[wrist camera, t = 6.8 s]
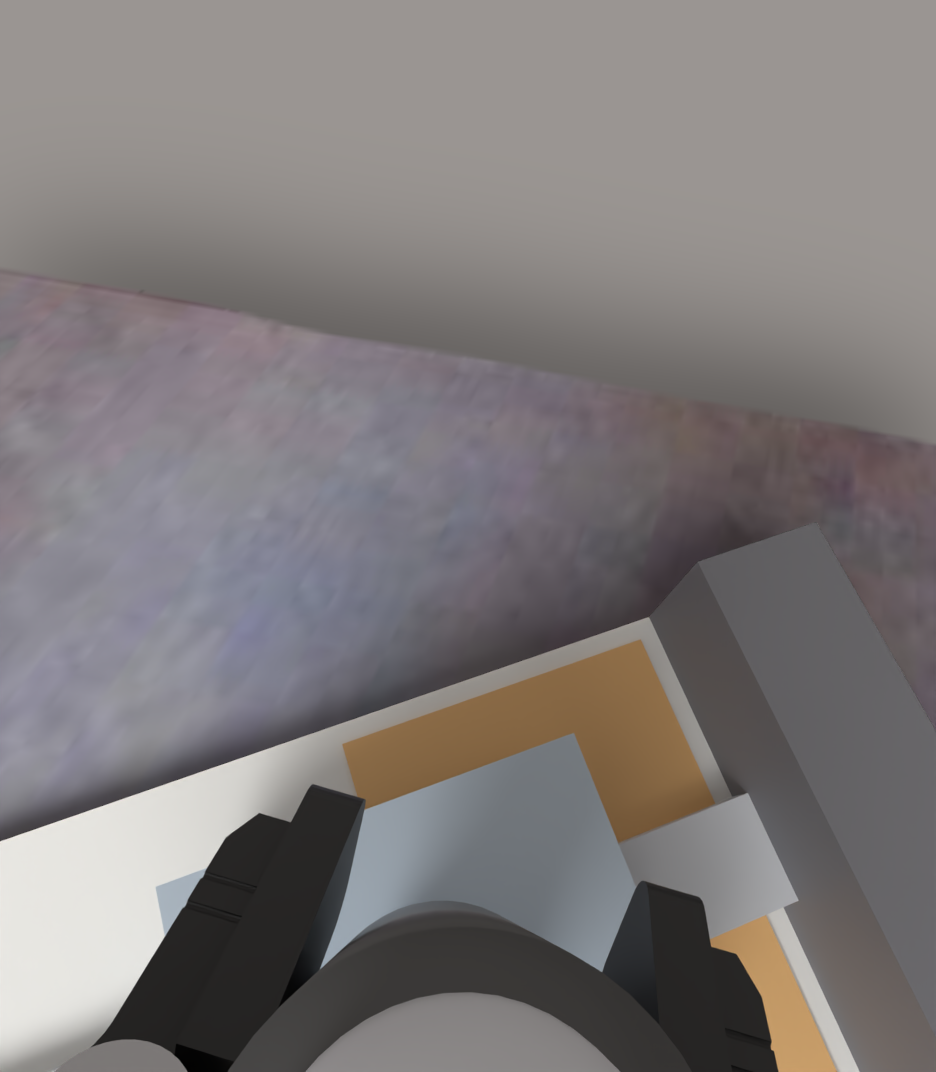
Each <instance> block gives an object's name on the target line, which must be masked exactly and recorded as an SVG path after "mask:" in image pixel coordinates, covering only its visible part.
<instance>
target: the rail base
mask: <svg viewBox="0 0 936 1072" xmlns="http://www.w3.org/2000/svg"><path fill="white" fill-rule="evenodd" d="M572 733H574V735H575V737H576V740H577V742H578V745H579V747H580V750H581V752H582V754H583V757H584V759H585V762H586V764H587V767H588V769H589V772H590V774H591V777H592V779H593V782H594V784H595V787H596V789H597V792H598V794H599V797H600V799H601V802H602V804H603V807H604V809H605V812H606V814H607V817H608V819H609V822H610V824H611V826H612V829H613V831H614V834H615V836H616V839H617V841H618V844H619V846H620V849H621V851H622V854H623V856H624V859H625V861H626V864H627V866H628V869H629V871H630V874H631V876H632V879H633V881H634V884H635V886H636V887H637V885H638V884H639V883H640V882H641V881H646V882H650V883H653V884H657V885H660V886H663V887H667V888H670V889H674V890H677V891H681V892H684V893H687V894H691V895H694V896H698V897H700V898H701V900H702V901H703V904H704V908H705V913H706V919H707V925H708V931H709V937H710V943H711V947H714V948H718V949H721V950H725V951H728V952H731V953H735V954H737V955H738V957H739V959H740V961H741V962H742V964H743V966H744V967H745V969H746V971H747V972H748V974H749V976H750V978H751V979H752V981H753V983H754V984H755V986H756V988H757V989H758V991H759V993H760V995H761V996H762V1000H763V1004H764V1009H765V1013H766V1018H767V1022H768V1027H769V1031H770V1036H771V1040H772V1043H771V1050H773V1051H774V1054H775V1058H776V1062H777V1067H778V1071H779V1072H936V730H935V728H934V726H933V725H932V723H931V721H930V719H929V718H928V716H927V714H926V713H925V711H924V709H923V707H922V706H921V704H920V702H919V700H918V699H917V697H916V695H915V693H914V692H913V690H912V688H911V686H910V685H909V683H908V681H907V679H906V678H905V676H904V674H903V672H902V671H901V669H900V667H899V665H898V664H897V662H896V660H895V658H894V657H893V655H892V653H891V651H890V650H889V648H888V646H887V645H886V643H885V641H884V639H883V638H882V636H881V634H880V632H879V631H878V629H877V627H876V625H875V624H874V622H873V620H872V618H871V617H870V615H869V613H868V611H867V610H866V608H865V606H864V604H863V603H862V601H861V599H860V597H859V596H858V594H857V592H856V590H855V589H854V587H853V585H852V583H851V582H850V580H849V578H848V576H847V575H846V573H845V571H844V570H843V568H842V566H841V564H840V563H839V561H838V559H837V557H836V556H835V554H834V552H833V550H832V549H831V547H830V545H829V543H828V542H827V540H826V538H825V536H824V535H823V533H822V531H821V529H820V528H819V526H818V524H817V522H814V523H811V524H808V525H805V526H802V527H799V528H796V529H793V530H790V531H787V532H784V533H781V534H779V535H776V536H773V537H770V538H767V539H764V540H761V541H758V542H755V543H752V544H749V545H746V546H743V547H740V548H737V549H734V550H731V551H728V552H725V553H722V554H719V555H716V556H713V557H710V558H707V559H704V560H701V561H698V562H697V563H696V564H695V565H694V566H693V567H692V569H691V570H690V571H689V572H688V573H687V574H686V575H685V576H684V578H683V579H682V580H681V581H680V582H679V583H678V584H677V586H676V587H675V588H674V589H673V590H672V591H671V592H670V594H669V595H668V596H667V597H666V598H665V599H664V600H663V602H662V603H661V604H660V605H659V606H658V607H657V608H656V609H655V611H654V612H653V613H652V614H651V615H650V616H649V617H647V618H644V619H642V620H639V621H636V622H633V623H630V624H627V625H624V626H621V627H618V628H616V629H613V630H610V631H607V632H604V633H601V634H598V635H595V636H592V637H590V638H587V639H584V640H581V641H578V642H575V643H572V644H569V645H566V646H564V647H561V648H558V649H555V650H552V651H549V652H546V653H543V654H540V655H538V656H535V657H532V658H529V659H526V660H523V661H520V662H517V663H514V664H511V665H509V666H506V667H503V668H500V669H497V670H494V671H491V672H488V673H485V674H483V675H480V676H477V677H474V678H471V679H468V680H465V681H462V682H459V683H457V684H454V685H451V686H448V687H445V688H442V689H439V690H436V691H433V692H431V693H428V694H425V695H422V696H419V697H416V698H413V699H410V700H407V701H405V702H402V703H399V704H396V705H393V706H390V707H387V708H384V709H381V710H379V711H376V712H373V713H370V714H367V715H364V716H361V717H358V718H355V719H353V720H350V721H347V722H344V723H341V724H338V725H335V726H332V727H329V728H327V729H324V730H321V731H318V732H315V733H312V734H309V735H306V736H303V737H300V738H298V739H295V740H292V741H289V742H286V743H283V744H280V745H277V746H274V747H272V748H269V749H266V750H263V751H260V752H257V753H254V754H251V755H248V756H246V757H243V758H240V759H237V760H234V761H231V762H228V763H225V764H222V765H220V766H217V767H214V768H211V769H208V770H205V771H202V772H199V773H196V774H194V775H191V776H188V777H185V778H182V779H179V780H176V781H173V782H170V783H168V784H165V785H162V786H159V787H156V788H153V789H150V790H147V791H144V792H142V793H139V794H136V795H133V796H130V797H127V798H124V799H121V800H118V801H116V802H113V803H110V804H107V805H104V806H101V807H98V808H95V809H92V810H89V811H87V812H84V813H81V814H78V815H75V816H72V817H69V818H66V819H63V820H61V821H58V822H55V823H52V824H49V825H46V826H43V827H40V828H37V829H35V830H32V831H29V832H26V833H23V834H20V835H17V836H14V837H11V838H9V839H6V840H3V841H0V1072H54V1071H56V1070H57V1069H58V1068H59V1067H60V1066H61V1065H63V1064H64V1063H65V1062H66V1061H68V1060H69V1059H71V1058H72V1057H74V1056H76V1055H77V1054H79V1053H81V1052H83V1051H85V1050H87V1049H89V1048H90V1047H91V1046H92V1045H94V1044H95V1042H96V1041H97V1040H98V1039H99V1038H100V1037H101V1036H102V1035H103V1034H104V1033H105V1031H106V1030H107V1028H108V1027H109V1026H110V1024H111V1023H112V1021H113V1020H114V1018H115V1017H116V1015H117V1013H118V1012H119V1010H120V1009H121V1007H122V1005H123V1004H124V1002H125V1000H126V999H127V997H128V996H129V994H130V992H131V991H132V989H133V987H134V986H135V984H136V983H137V981H138V979H139V978H140V976H141V974H142V973H143V971H144V970H145V968H146V966H147V965H148V963H149V961H150V960H151V958H152V957H153V955H154V953H155V952H156V950H157V948H158V947H159V945H160V944H161V942H162V940H163V939H164V937H165V934H164V929H163V924H162V918H161V913H160V908H159V903H158V898H157V892H156V886H159V885H162V884H165V883H167V882H170V881H173V880H175V879H178V878H181V877H184V876H186V875H189V874H192V873H194V872H197V871H200V870H203V869H205V868H207V867H208V866H209V864H210V862H211V861H212V859H213V857H214V856H215V854H216V853H217V851H218V849H219V848H220V846H221V844H222V843H223V841H224V840H225V838H226V837H227V836H228V835H230V834H231V833H232V832H234V831H235V830H236V829H238V828H239V827H241V826H242V825H243V824H245V823H246V822H247V821H249V820H250V819H252V818H253V817H254V816H256V815H257V814H258V813H261V814H265V815H268V816H271V817H275V818H278V819H282V820H285V821H288V822H291V821H292V819H293V817H294V815H295V813H296V811H297V809H298V807H299V806H300V804H301V802H302V800H303V798H304V796H305V794H306V792H307V790H308V789H309V787H310V786H311V785H312V784H315V785H318V786H322V787H325V788H329V789H332V790H336V791H339V792H342V793H346V794H349V795H353V796H356V797H360V798H363V799H365V800H366V803H365V809H368V808H371V807H374V806H376V805H379V804H382V803H384V802H387V801H390V800H393V799H395V798H398V797H401V796H403V795H406V794H409V793H412V792H414V791H417V790H420V789H422V788H425V787H428V786H431V785H433V784H436V783H439V782H441V781H444V780H447V779H450V778H452V777H455V776H458V775H460V774H463V773H466V772H469V771H471V770H474V769H477V768H479V767H482V766H485V765H488V764H490V763H493V762H496V761H498V760H501V759H504V758H507V757H509V756H512V755H515V754H517V753H520V752H523V751H526V750H528V749H531V748H534V747H536V746H539V745H542V744H545V743H547V742H550V741H553V740H555V739H558V738H561V737H564V736H566V735H569V734H572ZM365 809H364V810H365Z"/></svg>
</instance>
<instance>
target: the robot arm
mask: <svg viewBox="0 0 936 1072" xmlns="http://www.w3.org/2000/svg"><path fill="white" fill-rule="evenodd" d="M365 803H366V800H365V799H363V798H360V797H356V796H353V795H349V794H346V793H342V792H339V791H336V790H332V789H329V788H325V787H322V786H318V785H315V784H312V785H311V786H310V787H309V789H308V790H307V792H306V794H305V796H304V798H303V800H302V802H301V804H300V806H299V807H298V809H297V811H296V813H295V815H294V817H293V819H292V821H291V822H288V821H285V820H282V819H278V818H275V817H271V816H268V815H265V814H261V813H258V814H257V815H256V816H254V817H253V818H252V819H250V820H249V821H247V822H246V823H245V824H243V825H242V826H241V827H239V828H238V829H236V830H235V831H234V832H232V833H231V834H230V835H228V836H227V837H226V838H225V840H224V841H223V843H222V844H221V846H220V848H219V849H218V851H217V853H216V854H215V856H214V857H213V859H212V861H211V862H210V864H209V866H208V867H207V869H206V870H205V874H204V876H203V878H201V879H200V880H199V882H198V883H197V885H196V887H195V888H194V890H193V892H192V893H191V895H190V896H189V898H188V900H187V903H186V906H185V907H183V908H182V909H181V911H180V913H179V914H178V916H177V918H176V919H175V921H174V922H173V924H172V926H171V927H170V929H169V931H168V932H167V934H166V935H165V937H164V939H163V940H162V942H161V944H160V945H159V947H158V948H157V950H156V952H155V953H154V955H153V957H152V958H151V960H150V961H149V963H148V965H147V966H146V968H145V970H144V971H143V973H142V974H141V976H140V978H139V979H138V981H137V983H136V984H135V986H134V987H133V989H132V991H131V992H130V994H129V996H128V997H127V999H126V1000H125V1002H124V1004H123V1005H122V1007H121V1009H120V1010H119V1012H118V1013H117V1015H116V1017H115V1018H114V1020H113V1021H112V1023H111V1024H110V1026H109V1027H108V1028H107V1030H106V1031H105V1033H104V1034H103V1035H102V1036H101V1037H100V1038H99V1039H98V1040H97V1041H96V1042H95V1044H94V1045H92V1046H91V1047H90V1048H89V1049H87V1050H85V1051H83V1052H81V1053H79V1054H77V1055H76V1056H74V1057H72V1058H71V1059H69V1060H68V1061H66V1062H65V1063H64V1064H63V1065H61V1066H60V1067H59V1068H58V1069H57V1070H56V1071H54V1072H228V1070H229V1069H230V1067H231V1066H232V1064H233V1063H234V1062H235V1060H236V1059H237V1058H238V1056H239V1055H240V1053H241V1052H242V1051H243V1049H244V1048H245V1047H246V1045H247V1044H248V1042H249V1041H250V1040H251V1038H252V1037H253V1036H254V1034H255V1033H256V1032H257V1031H258V1030H259V1029H260V1028H261V1027H262V1026H263V1025H264V1023H265V1022H266V1021H267V1020H268V1019H269V1018H270V1017H271V1016H272V1015H273V1014H274V1013H275V1011H276V1010H277V1009H278V1008H279V1007H280V1006H281V1005H282V1004H283V1003H284V1002H285V1001H286V1000H287V999H289V998H290V997H291V996H292V995H293V994H294V993H295V992H296V991H297V990H298V989H299V988H300V987H301V986H303V985H304V984H305V983H306V982H307V981H308V980H309V979H310V978H311V977H312V976H313V975H314V974H316V973H317V972H318V971H319V970H320V967H321V965H322V962H323V959H324V957H325V954H326V951H327V949H328V946H329V943H330V941H331V938H332V935H333V933H334V930H335V927H336V924H337V921H338V918H339V914H340V911H341V908H342V904H343V901H344V897H345V894H346V890H347V886H348V882H349V877H350V873H351V868H352V864H353V859H354V855H355V850H356V846H357V841H358V837H359V832H360V828H361V823H362V819H363V814H364V809H365ZM603 973H604V974H605V975H606V976H608V977H609V978H610V979H611V980H613V981H614V982H615V983H616V984H618V985H619V986H620V987H621V988H623V989H624V990H625V991H626V992H628V993H629V994H630V995H631V996H632V997H633V998H634V999H635V1000H636V1001H637V1002H638V1003H639V1004H640V1005H641V1006H642V1007H643V1008H644V1009H645V1010H646V1011H647V1012H648V1013H649V1014H650V1015H651V1017H652V1018H653V1019H654V1020H655V1021H656V1022H657V1023H658V1024H659V1025H660V1027H661V1028H662V1029H663V1031H664V1032H665V1033H666V1035H667V1036H668V1037H669V1038H670V1040H671V1041H672V1042H673V1044H674V1045H675V1046H676V1048H677V1049H678V1050H679V1052H680V1053H681V1054H682V1056H683V1058H684V1059H685V1061H686V1063H687V1064H688V1066H689V1068H690V1069H691V1071H692V1072H779V1071H778V1067H777V1062H776V1058H775V1054H774V1051H773V1050H771V1043H772V1040H771V1036H770V1031H769V1027H768V1022H767V1018H766V1013H765V1009H764V1004H763V1000H762V996H761V995H760V993H759V991H758V989H757V988H756V986H755V984H754V983H753V981H752V979H751V978H750V976H749V974H748V972H747V971H746V969H745V967H744V966H743V964H742V962H741V961H740V959H739V957H738V955H737V954H735V953H731V952H728V951H725V950H721V949H718V948H714V947H711V943H710V937H709V931H708V925H707V919H706V913H705V908H704V904H703V901H702V900H701V898H700V897H698V896H694V895H691V894H687V893H684V892H681V891H677V890H674V889H670V888H667V887H663V886H660V885H657V884H653V883H650V882H646V881H641V882H640V883H639V884H638V885H637V887H636V889H635V891H634V893H633V896H632V898H631V901H630V903H629V905H628V908H627V910H626V913H625V915H624V918H623V920H622V923H621V925H620V927H619V930H618V932H617V935H616V937H615V940H614V942H613V945H612V947H611V950H610V952H609V954H608V957H607V959H606V962H605V965H604V968H603Z"/></svg>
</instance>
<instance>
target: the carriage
mask: <svg viewBox="0 0 936 1072" xmlns="http://www.w3.org/2000/svg"><path fill="white" fill-rule="evenodd" d="M206 869H207V868H205V869H203V870H200V871H197V872H194V873H192V874H189V875H186V876H184V877H181V878H178V879H175V880H173V881H170V882H167V883H165V884H162V885H159V886H156V892H157V898H158V903H159V908H160V913H161V918H162V924H163V929H164V934H165V935H166V934H167V932H168V931H169V929H170V927H171V926H172V924H173V922H174V921H175V919H176V918H177V916H178V914H179V913H180V911H181V909H182V908H183V907H185V906H186V903H187V900H188V898H189V896H190V895H191V893H192V892H193V890H194V888H195V887H196V885H197V883H198V882H199V880H200V879H201V878H203V876H204V874H205V870H206ZM635 889H636V886H635V884H634V881H633V879H632V876H631V874H630V871H629V869H628V866H627V864H626V861H625V859H624V856H623V854H622V851H621V849H620V846H619V844H618V841H617V839H616V836H615V834H614V831H613V829H612V826H611V824H610V822H609V819H608V817H607V814H606V812H605V809H604V807H603V804H602V802H601V799H600V797H599V794H598V792H597V789H596V787H595V784H594V782H593V779H592V777H591V774H590V772H589V769H588V767H587V764H586V762H585V759H584V757H583V754H582V752H581V750H580V747H579V745H578V742H577V740H576V737H575V735H574V733H572V734H569V735H566V736H564V737H561V738H558V739H555V740H553V741H550V742H547V743H545V744H542V745H539V746H536V747H534V748H531V749H528V750H526V751H523V752H520V753H517V754H515V755H512V756H509V757H507V758H504V759H501V760H498V761H496V762H493V763H490V764H488V765H485V766H482V767H479V768H477V769H474V770H471V771H469V772H466V773H463V774H460V775H458V776H455V777H452V778H450V779H447V780H444V781H441V782H439V783H436V784H433V785H431V786H428V787H425V788H422V789H420V790H417V791H414V792H412V793H409V794H406V795H403V796H401V797H398V798H395V799H393V800H390V801H387V802H384V803H382V804H379V805H376V806H374V807H371V808H368V809H365V810H364V814H363V819H362V823H361V828H360V832H359V837H358V841H357V846H356V850H355V855H354V859H353V864H352V868H351V873H350V877H349V882H348V886H347V890H346V894H345V897H344V901H343V904H342V908H341V911H340V914H339V918H338V921H337V924H336V927H335V930H334V933H333V935H332V938H331V941H330V943H329V946H328V949H327V951H326V954H325V957H324V959H323V962H322V965H321V967H320V970H319V971H318V972H317V973H316V974H314V975H313V976H312V977H311V978H310V979H309V980H308V981H307V982H306V983H305V984H304V985H303V986H301V987H300V988H299V989H298V990H297V991H296V992H295V993H294V994H293V995H292V996H291V997H290V998H289V999H287V1000H286V1001H285V1002H284V1003H283V1004H282V1005H281V1006H280V1007H279V1008H278V1009H277V1010H276V1011H275V1013H274V1014H273V1015H272V1016H271V1017H270V1018H269V1019H268V1020H267V1021H266V1022H265V1023H264V1025H263V1026H262V1027H261V1028H260V1029H259V1030H258V1031H257V1032H256V1033H255V1034H254V1036H253V1037H252V1038H251V1040H250V1041H249V1042H248V1044H247V1045H246V1047H245V1048H244V1049H243V1051H242V1052H241V1053H240V1055H239V1056H238V1058H237V1059H236V1060H235V1062H234V1063H233V1064H232V1066H231V1067H230V1069H229V1070H228V1072H692V1071H691V1069H690V1068H689V1066H688V1064H687V1063H686V1061H685V1059H684V1058H683V1056H682V1054H681V1053H680V1052H679V1050H678V1049H677V1048H676V1046H675V1045H674V1044H673V1042H672V1041H671V1040H670V1038H669V1037H668V1036H667V1035H666V1033H665V1032H664V1031H663V1029H662V1028H661V1027H660V1025H659V1024H658V1023H657V1022H656V1021H655V1020H654V1019H653V1018H652V1017H651V1015H650V1014H649V1013H648V1012H647V1011H646V1010H645V1009H644V1008H643V1007H642V1006H641V1005H640V1004H639V1003H638V1002H637V1001H636V1000H635V999H634V998H633V997H632V996H631V995H630V994H629V993H628V992H626V991H625V990H624V989H623V988H621V987H620V986H619V985H618V984H616V983H615V982H614V981H613V980H611V979H610V978H609V977H608V976H606V975H605V974H604V973H603V968H604V965H605V962H606V959H607V957H608V954H609V952H610V950H611V947H612V945H613V942H614V940H615V937H616V935H617V932H618V930H619V927H620V925H621V923H622V920H623V918H624V915H625V913H626V910H627V908H628V905H629V903H630V901H631V898H632V896H633V893H634V891H635Z"/></svg>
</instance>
